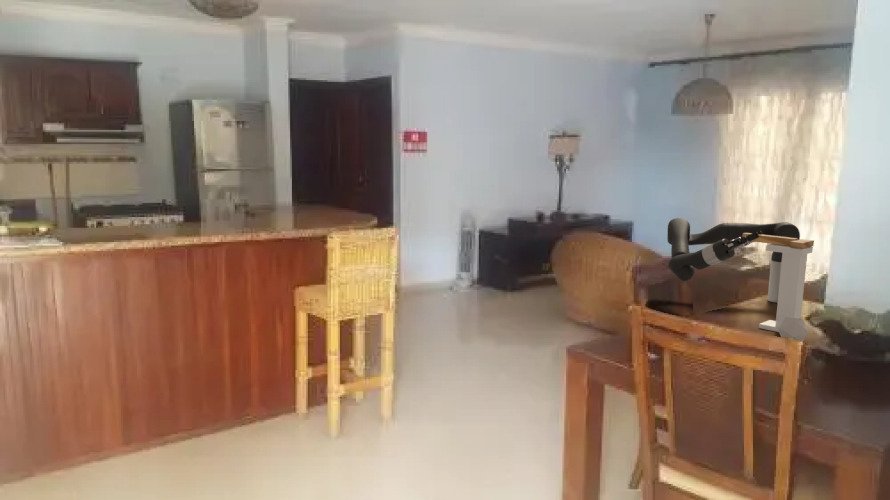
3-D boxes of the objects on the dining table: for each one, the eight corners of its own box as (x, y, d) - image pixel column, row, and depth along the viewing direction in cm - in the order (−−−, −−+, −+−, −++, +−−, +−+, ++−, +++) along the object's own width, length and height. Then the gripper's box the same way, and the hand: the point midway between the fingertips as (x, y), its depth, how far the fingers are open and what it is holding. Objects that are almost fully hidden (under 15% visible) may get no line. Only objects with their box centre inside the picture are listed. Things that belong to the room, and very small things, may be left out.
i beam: (769, 323, 249) (777, 242, 245) (804, 330, 241) (812, 246, 236) (758, 327, 243) (766, 244, 239) (793, 335, 235) (802, 249, 230)
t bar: (750, 238, 252) (750, 232, 252) (813, 246, 236) (814, 239, 236) (737, 241, 246) (738, 234, 245) (802, 248, 230) (802, 241, 229)
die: (807, 342, 228) (791, 315, 232) (818, 336, 220) (802, 308, 223) (784, 352, 228) (768, 324, 231) (795, 346, 219) (778, 318, 223)
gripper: (730, 259, 261) (772, 241, 248) (713, 263, 251) (756, 245, 239) (722, 241, 262) (764, 223, 250) (704, 244, 253) (747, 225, 241)
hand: (759, 234), depth 245 cm, fingers closed on t bar, 3 cm apart
